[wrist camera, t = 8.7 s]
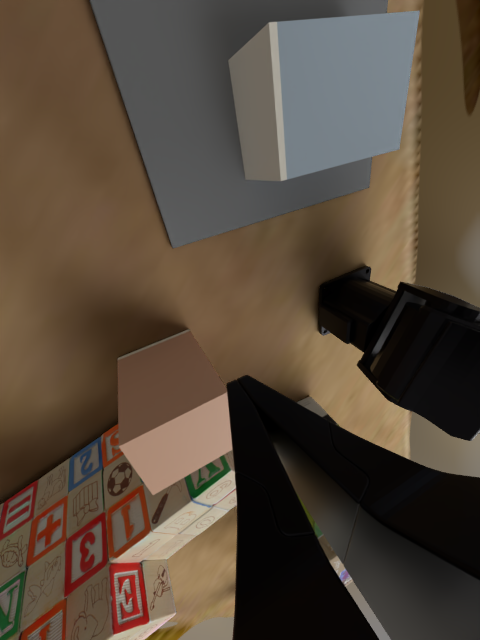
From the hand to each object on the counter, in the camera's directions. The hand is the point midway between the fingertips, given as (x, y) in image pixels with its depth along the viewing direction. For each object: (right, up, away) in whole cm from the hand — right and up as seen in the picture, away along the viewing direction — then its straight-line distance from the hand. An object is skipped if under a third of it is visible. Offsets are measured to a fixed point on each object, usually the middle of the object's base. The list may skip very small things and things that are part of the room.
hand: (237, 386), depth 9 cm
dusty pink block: (-6, -1, +13) cm, 14 cm away
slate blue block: (+1, +14, +5) cm, 14 cm away
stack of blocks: (-12, -10, +15) cm, 22 cm away
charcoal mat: (+2, +16, +8) cm, 18 cm away
